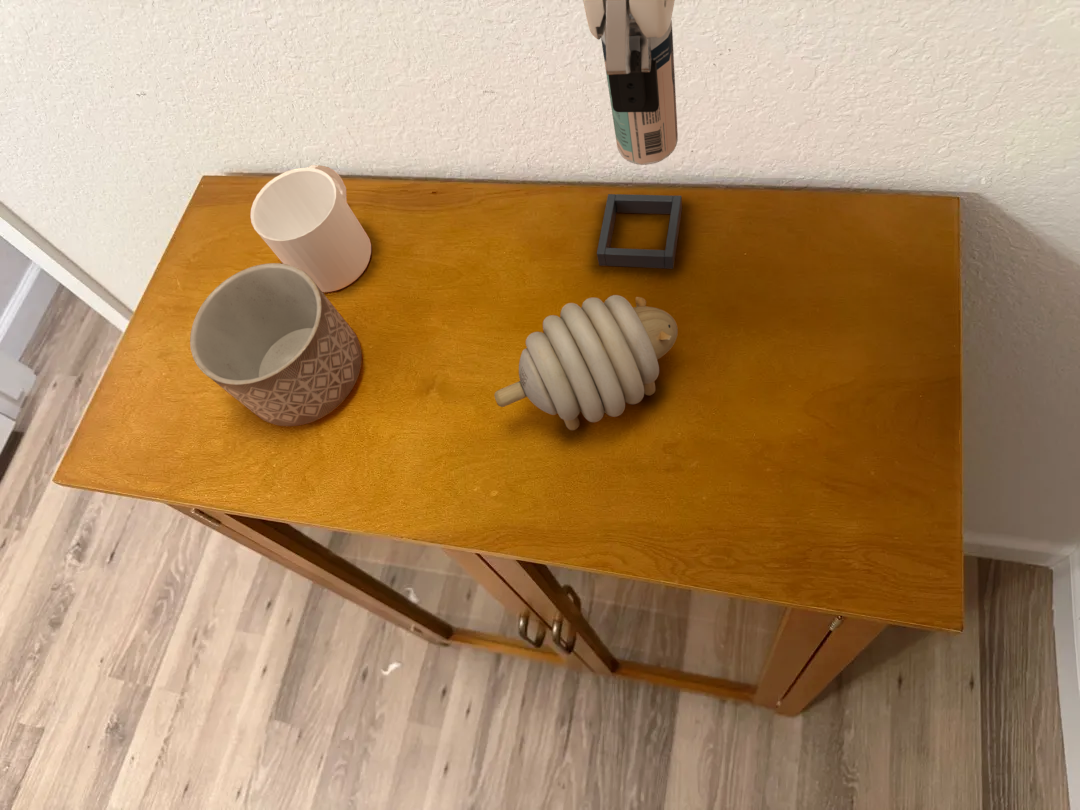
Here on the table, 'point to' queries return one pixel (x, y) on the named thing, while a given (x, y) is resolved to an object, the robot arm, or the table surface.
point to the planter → (276, 344)
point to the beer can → (650, 131)
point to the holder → (639, 256)
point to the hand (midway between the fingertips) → (641, 78)
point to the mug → (312, 226)
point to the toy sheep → (593, 359)
